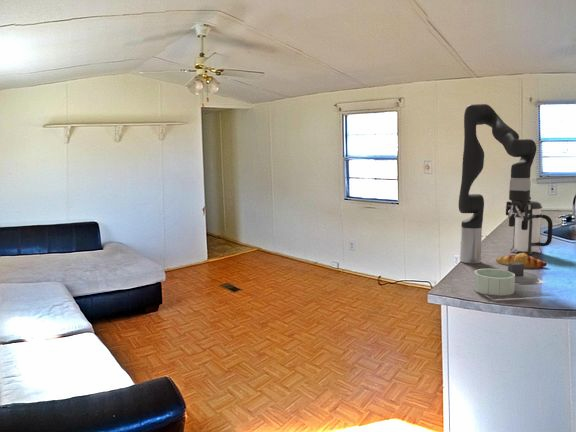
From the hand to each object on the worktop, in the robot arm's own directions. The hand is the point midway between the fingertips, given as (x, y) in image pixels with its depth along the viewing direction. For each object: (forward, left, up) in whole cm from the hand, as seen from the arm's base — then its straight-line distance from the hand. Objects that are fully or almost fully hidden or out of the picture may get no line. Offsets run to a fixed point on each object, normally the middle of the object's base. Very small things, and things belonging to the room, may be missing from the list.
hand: (517, 228), depth 178 cm
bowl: (+13, -17, -22) cm, 31 cm away
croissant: (-20, +15, -22) cm, 33 cm away
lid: (0, 0, -21) cm, 21 cm away
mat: (0, 0, -22) cm, 22 cm away
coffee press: (-44, +35, -22) cm, 60 cm away
